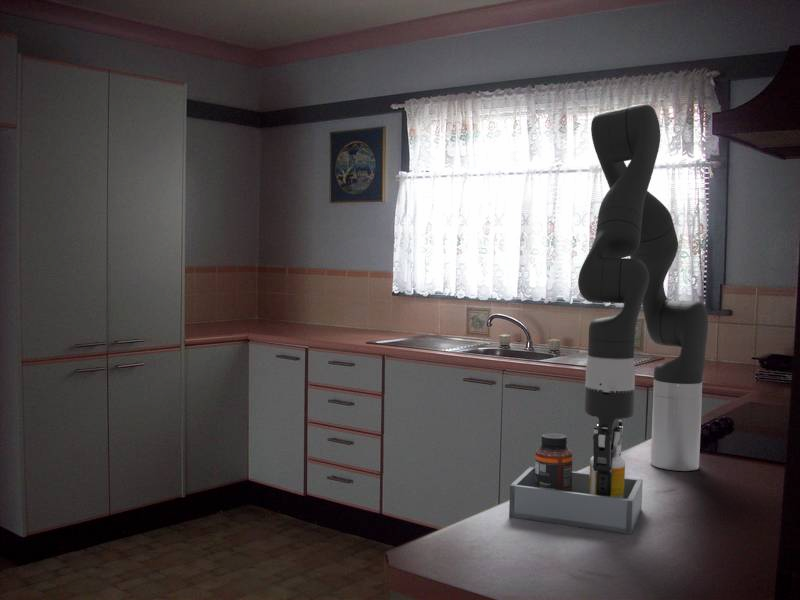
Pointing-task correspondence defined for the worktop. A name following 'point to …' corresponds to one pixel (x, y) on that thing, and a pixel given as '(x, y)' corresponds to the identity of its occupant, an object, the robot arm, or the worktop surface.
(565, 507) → the tote
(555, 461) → the supplement bottle
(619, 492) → the supplement bottle
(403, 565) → the worktop surface
